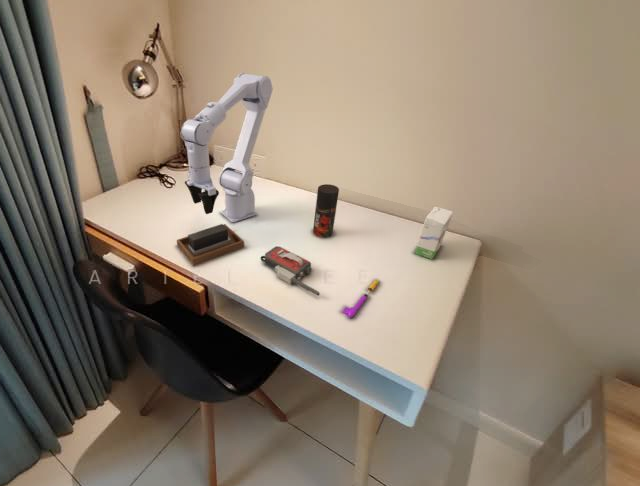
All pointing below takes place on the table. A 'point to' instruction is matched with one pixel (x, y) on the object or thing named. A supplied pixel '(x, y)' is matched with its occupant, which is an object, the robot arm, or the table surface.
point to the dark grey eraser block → (208, 239)
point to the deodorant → (325, 210)
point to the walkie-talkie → (288, 266)
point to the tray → (213, 253)
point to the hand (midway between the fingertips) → (203, 207)
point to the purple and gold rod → (359, 302)
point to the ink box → (433, 232)
